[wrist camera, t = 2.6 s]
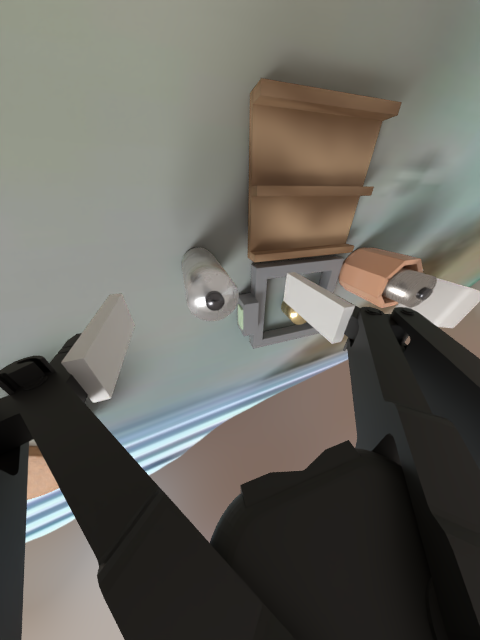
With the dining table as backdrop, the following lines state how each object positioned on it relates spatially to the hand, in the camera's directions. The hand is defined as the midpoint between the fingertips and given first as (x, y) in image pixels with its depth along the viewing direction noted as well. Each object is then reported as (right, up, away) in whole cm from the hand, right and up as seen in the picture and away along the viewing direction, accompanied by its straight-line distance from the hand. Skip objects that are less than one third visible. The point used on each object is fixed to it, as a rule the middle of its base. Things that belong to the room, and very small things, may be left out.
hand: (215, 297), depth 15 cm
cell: (-3, +4, +6) cm, 8 cm away
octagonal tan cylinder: (+21, +6, +14) cm, 26 cm away
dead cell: (+21, +6, +14) cm, 26 cm away
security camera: (+32, +5, +19) cm, 37 cm away
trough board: (+10, +13, +5) cm, 17 cm away
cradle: (+9, +1, +13) cm, 16 cm away
